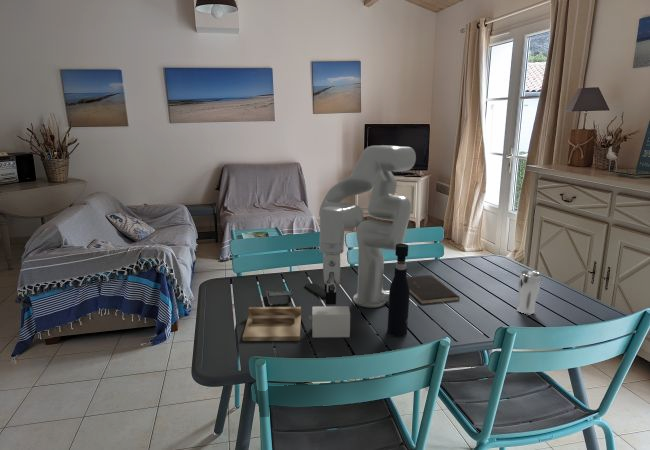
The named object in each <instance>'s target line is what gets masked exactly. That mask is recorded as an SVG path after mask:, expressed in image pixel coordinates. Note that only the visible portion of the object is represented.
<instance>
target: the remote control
mask: <svg viewBox="0 0 650 450" xmlns="http://www.w3.org/2000/svg"><path fill="white" fill-rule="evenodd" d="M305 287H306V288H307V289H306V288H305ZM304 288H305V289H306V290H307V291H309V290H310V291H309V292H311V293H312V292H313V293H312V294H314V295H315V296H317V297H318V298H320V299H322V300H326V292H325V288H324V287H322V286H320V285H318V283H317V284H316V283H315V282H311V283H307V284H305V285H304Z"/></svg>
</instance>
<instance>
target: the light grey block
mask: <svg viewBox="0 0 650 450" xmlns="http://www.w3.org/2000/svg"><path fill="white" fill-rule="evenodd" d="M311 307H312V312H311V313H312V314H311V315H308V322H312V324H311V325H312V326H311V328H312V329H311V330H312V331H311V332H312V335H311V336H312V338H350V335H351V312H350V306H349V305H348V306H347V305H345V306H344V305H341V306H340V305H339V306H335V305H329V306H327V305H325V306H323V305H322V306H318V305H317V306H311Z"/></svg>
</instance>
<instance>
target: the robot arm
mask: <svg viewBox="0 0 650 450" xmlns="http://www.w3.org/2000/svg"><path fill="white" fill-rule="evenodd" d="M416 156H417V155H416V151H415V149H414V148H412V147H410V146H400V145H387V144H386V145H384V144H382V145H370V146H367V147H365V148H364V150H363V151H362V154H361V155H360V157H359V159H358V161H357V163H356V164H355V167H354V169H352V172H351V173H350V175H349V176H347V177H345V178H344V179H342V180H340V181H339V182H338V183H336V184H334V185H333V186H332V187H331V188H330V189H329V190H328V191H327V193H326V195H325V196H324V198H323V200H322V202H321V204H320V207H319V212H318V214H319V248H318V249H319V252H320V253H321V254H322V271H323V272H322V273H323V281H324V289H325V292H326V299H325V306H327V305H329V306H335V305H336V304H337V287H336V286H339V285H340V284H341V254H343V253H344V243H345V242H344V241H345V229H353V228H356V234H355V235H356V241H357V248H358V249H357V250H358V259H357V260H358V261H357V263H358V264H357V267H358V268H357V289H356V290H357V293H355V294H354V295H353V298H352V300H353V303H354V304H355V305H357V306H360V307H363V308H368V309H369V308H370V309H371V308H372V309H373V308H374V309H375V308H380V307H382V306H384V305H385V304H386V303H387V298H388V299H389V291H390V290H384V285H383V284H384V266H385V264H384V263H385V258H384V256H385V255H384V253H383V251H382V250H387V251H395V252H396V244H404V241H405V238H406V237H405V236H406V233H407V229H408V226H409V225H408V224H409V223H410V217H411V213H412V204H411V201H410V199H409V198H408V197H406V196H404V195H397V194H396V190H397V186H398V183H397V179H396V177H395V175H394V173H396V172H398V173H399V172H409V170H412V168H413V167H414V166H415V164H416V160H417V157H416ZM393 172H394V173H393ZM369 191H371V194H370V197H369V201H368V206H367V214H368V215H369V216H370V217H371V218H372V219H371V220H370V219H369V220H368V219H367V220H363V219H364V211H363V209H362V208H361V207H360V206H359V205H357V204H353V203H346V202H342V201H344V200H345V199H347V198H350V197H352V196H356V195H360V194H363V193H366V192H369ZM373 218H374V219H378V220H373ZM379 220H383V221H379ZM384 221H391V222H392V223H390V222H384Z"/></svg>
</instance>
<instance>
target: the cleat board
mask: <svg viewBox="0 0 650 450" xmlns="http://www.w3.org/2000/svg"><path fill="white" fill-rule="evenodd" d="M301 321H302V306H291V307H270V306H249V307H248V317H247V320H246V324H245V327H244V330H243V334H242V341H243V342H267V341H268V342H269V341H271V342H274V341H275V342H280V341H281V342H285V341H287V342H288V341H289V342H290V341H292V342H293V341H295V342H296V341H298V342H299V341H301V327H302V326H301V325H302V324H301V323H302V322H301Z"/></svg>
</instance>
